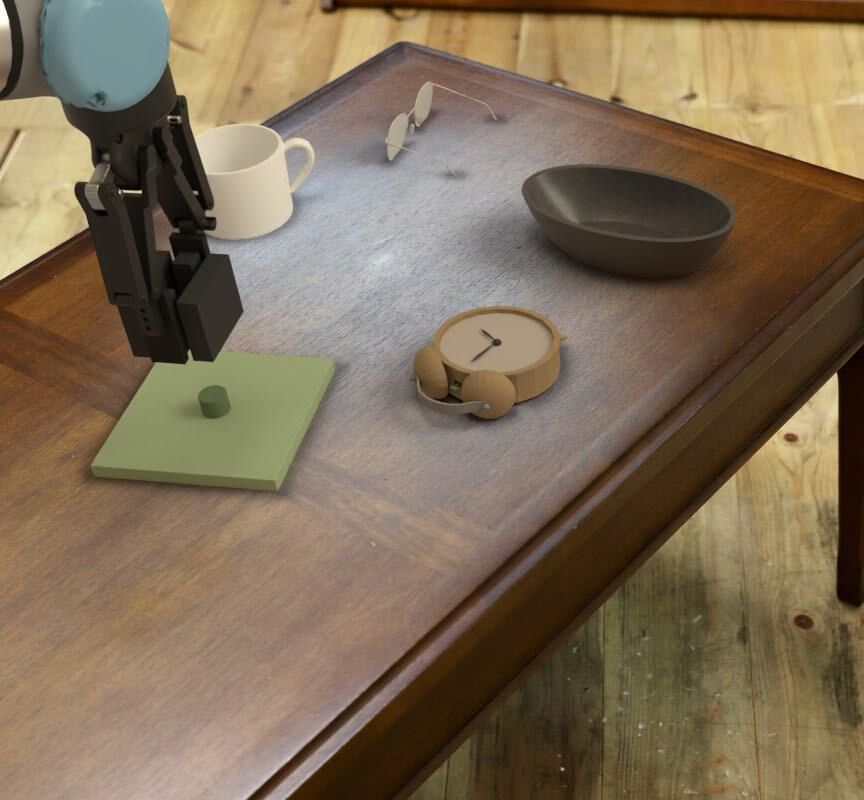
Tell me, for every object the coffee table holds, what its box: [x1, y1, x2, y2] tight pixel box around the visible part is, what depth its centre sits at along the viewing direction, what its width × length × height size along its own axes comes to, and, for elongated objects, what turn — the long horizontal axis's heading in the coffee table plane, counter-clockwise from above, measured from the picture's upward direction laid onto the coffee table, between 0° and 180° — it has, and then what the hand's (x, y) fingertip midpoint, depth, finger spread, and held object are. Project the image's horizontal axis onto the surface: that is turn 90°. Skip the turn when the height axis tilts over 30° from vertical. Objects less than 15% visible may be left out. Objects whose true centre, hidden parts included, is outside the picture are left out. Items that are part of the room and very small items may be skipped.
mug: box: [193, 123, 316, 241], centre depth 143 cm, size 13×10×8 cm
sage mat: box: [90, 350, 336, 492], centre depth 118 cm, size 16×16×3 cm
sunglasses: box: [384, 81, 498, 177], centre depth 154 cm, size 14×8×5 cm, turn 163°
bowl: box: [521, 163, 738, 279], centre depth 135 cm, size 12×22×6 cm, turn 65°
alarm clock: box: [409, 305, 568, 420], centre depth 121 cm, size 11×5×15 cm
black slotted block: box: [116, 249, 245, 362], centre depth 106 cm, size 6×6×6 cm
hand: (188, 331), depth 107 cm, fingers closed on black slotted block, 6 cm apart
